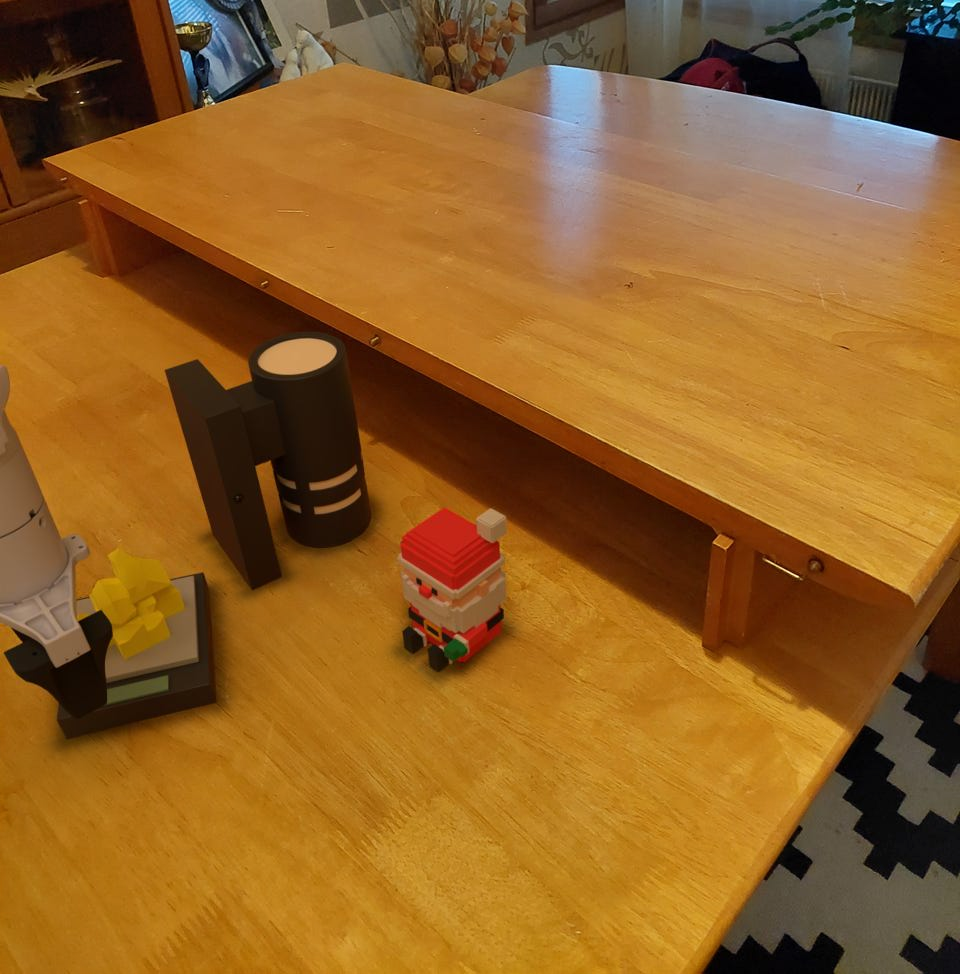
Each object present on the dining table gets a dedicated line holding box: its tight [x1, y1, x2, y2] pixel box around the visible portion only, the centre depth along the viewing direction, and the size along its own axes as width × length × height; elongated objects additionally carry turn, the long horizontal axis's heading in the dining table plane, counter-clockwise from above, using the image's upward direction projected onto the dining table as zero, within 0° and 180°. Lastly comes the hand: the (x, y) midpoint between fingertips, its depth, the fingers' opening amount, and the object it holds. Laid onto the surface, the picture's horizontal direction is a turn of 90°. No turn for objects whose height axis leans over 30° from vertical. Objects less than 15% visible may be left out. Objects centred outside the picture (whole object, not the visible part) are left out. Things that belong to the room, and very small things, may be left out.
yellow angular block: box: [77, 547, 185, 660], centre depth 71 cm, size 6×8×8 cm
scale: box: [56, 571, 217, 739], centre depth 74 cm, size 13×11×3 cm
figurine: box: [397, 506, 508, 672], centre depth 71 cm, size 8×7×12 cm
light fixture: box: [164, 331, 372, 591], centre depth 81 cm, size 10×14×18 cm
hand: (67, 674), depth 60 cm, fingers open, 7 cm apart
